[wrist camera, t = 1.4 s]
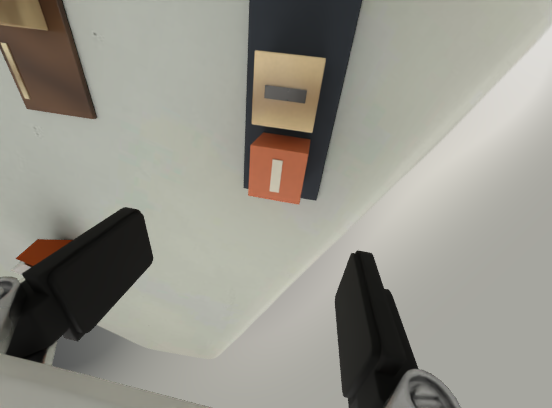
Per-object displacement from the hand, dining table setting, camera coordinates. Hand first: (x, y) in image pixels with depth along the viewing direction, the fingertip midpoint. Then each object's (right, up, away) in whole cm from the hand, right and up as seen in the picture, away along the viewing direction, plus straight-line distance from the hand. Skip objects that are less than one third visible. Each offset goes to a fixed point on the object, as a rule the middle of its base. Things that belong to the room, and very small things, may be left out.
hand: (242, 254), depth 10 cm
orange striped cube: (+2, +7, +12) cm, 14 cm away
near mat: (+3, +11, +10) cm, 15 cm away
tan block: (+3, +12, +9) cm, 15 cm away
